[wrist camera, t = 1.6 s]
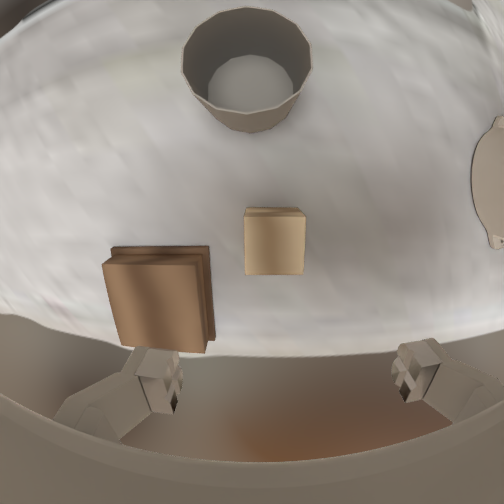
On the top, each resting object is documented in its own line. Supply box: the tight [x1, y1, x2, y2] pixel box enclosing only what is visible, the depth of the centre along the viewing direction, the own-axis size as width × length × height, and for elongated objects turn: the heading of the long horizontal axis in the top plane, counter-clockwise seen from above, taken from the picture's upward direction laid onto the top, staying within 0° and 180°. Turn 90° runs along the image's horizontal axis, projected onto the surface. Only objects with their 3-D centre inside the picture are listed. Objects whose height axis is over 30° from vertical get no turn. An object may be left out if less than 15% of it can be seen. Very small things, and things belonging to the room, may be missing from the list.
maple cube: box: [244, 207, 306, 275], centre depth 25 cm, size 5×5×5 cm
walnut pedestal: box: [102, 246, 216, 353], centre depth 28 cm, size 11×11×4 cm
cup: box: [181, 6, 313, 133], centre depth 18 cm, size 8×8×10 cm
